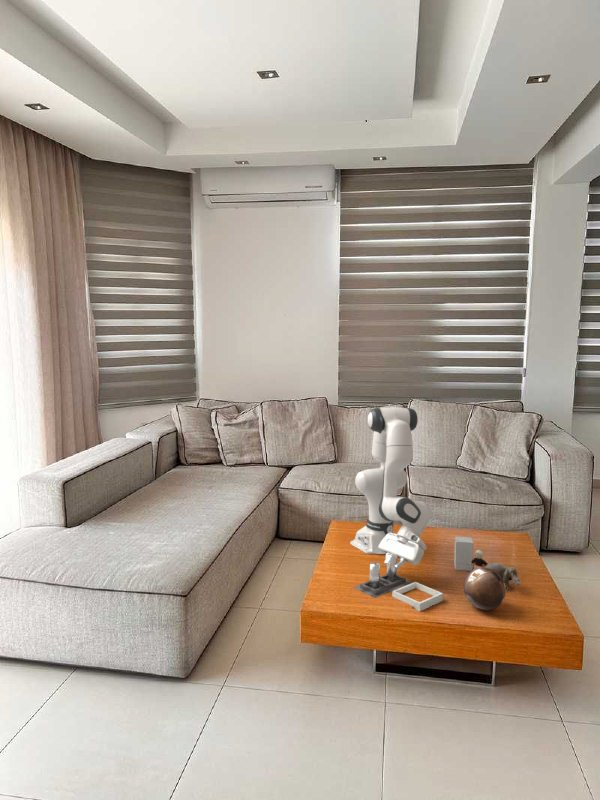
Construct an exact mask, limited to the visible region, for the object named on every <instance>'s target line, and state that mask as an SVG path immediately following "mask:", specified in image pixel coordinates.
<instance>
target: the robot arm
mask: <svg viewBox="0 0 600 800" xmlns="http://www.w3.org/2000/svg"><path fill="white" fill-rule="evenodd" d="M418 418H419V417H418V413H417V412H416V410H415V409H414V408H410V407H401V406H400V407H398V406H392V407H381V408H380V407H375V408H372V409H371V410H370V411H369V413H368V415H367V425H368V428H369V429H370V430H371V431H372V432H373V435H372V436H373V437H372V445H371V446H372V447H371V456H372V457H373V459H374V460H375V461H377V462H379V463H380V467H377V468H376V467H375V468H367V469H363V470H361V471H359V472H357V474H356V476H355V478H354V481H355V482H354V483H355V487H356V489H357V490H358V491H359V492H361V493H362V494H363V496H365V497H364V498H366V500H367V504H368V518H366V519H365V520H364V523H366V524H365V525H364V526H363V527H361V528H360V529H359V530H357V532H355V538H354V539H352V540H350V544H349V545H351V546H353V547H355V548H356V549H358V550H360V551H361V552H363V553H365V554H367V555H368V554H369V555H370V554H374V555H375V554H376V555H377V554H378V555H385V559H384V561H383V562H384V563H383V564H384V565H386V566H387V554H389V553H394V554H396V555H397V559H398V560H399V562H398V561H397V563H395V565H394V567H395V568H396V569H397V570H400V567H402V566H403V565H405V564H406V562H407V563H409V564H412V565H415V566H417V565H418V564H420V563H421V562H422V561H421V560H422V559H423V556H424V555H425V550H427V548H428V547H427V545H426V544H425V542H424V541H423V540H422V539H421V536H422V533H423V532H424V531H425V530H426V528H427V526H428V525H429V523H430V520H431V517H432V515H433V510H432V508H431V507H430V506H429V505H428V504H427V503H426V502H424V501H423V500H412V499H411V498H409V497H405V496H404V497H403V496H400V497H398V496H397V495H398V490H399V489H401V488H404V487H405V486H406V484H407V481H408V475H407V472H406V471H405V468H407V467H408V466H409V465H410V464H411V462H413V457H414V447H413V443H414V442H413V436H412V431H414V430H415V429H416V428H417V426H418V422H419V421H418ZM397 521H398V522H401V524H402V525H401V527H400V528H399V530H398V531H397V533H396V532H395V533H394V528H395V527H394V524H395V523H394V522H397Z"/></svg>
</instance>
